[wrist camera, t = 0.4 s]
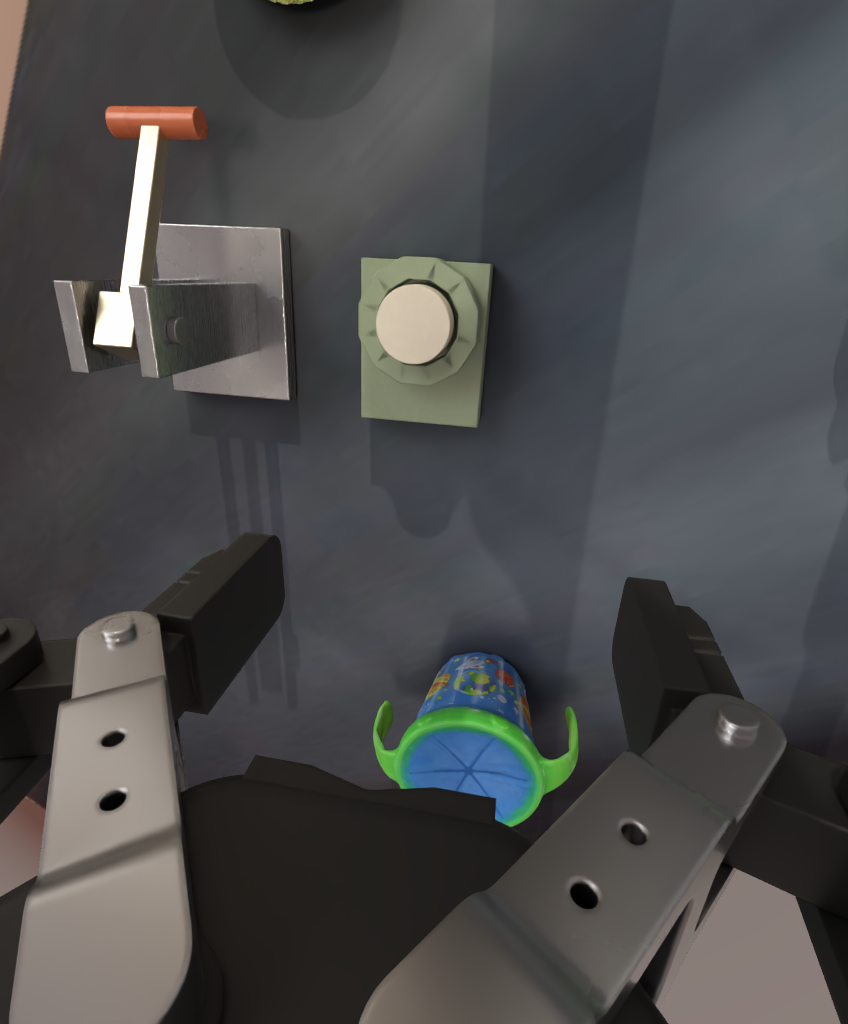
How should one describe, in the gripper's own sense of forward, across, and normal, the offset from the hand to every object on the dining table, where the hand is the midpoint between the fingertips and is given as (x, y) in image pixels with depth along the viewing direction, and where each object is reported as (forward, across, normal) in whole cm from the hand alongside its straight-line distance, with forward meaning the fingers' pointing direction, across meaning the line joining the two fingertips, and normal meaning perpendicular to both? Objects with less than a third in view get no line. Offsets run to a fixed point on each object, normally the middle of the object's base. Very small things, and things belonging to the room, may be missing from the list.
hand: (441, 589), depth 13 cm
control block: (+28, +5, -2) cm, 28 cm away
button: (+24, +5, -4) cm, 25 cm away
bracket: (+28, +19, -3) cm, 34 cm away
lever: (+20, +19, -7) cm, 29 cm away
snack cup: (+27, 0, +26) cm, 38 cm away
